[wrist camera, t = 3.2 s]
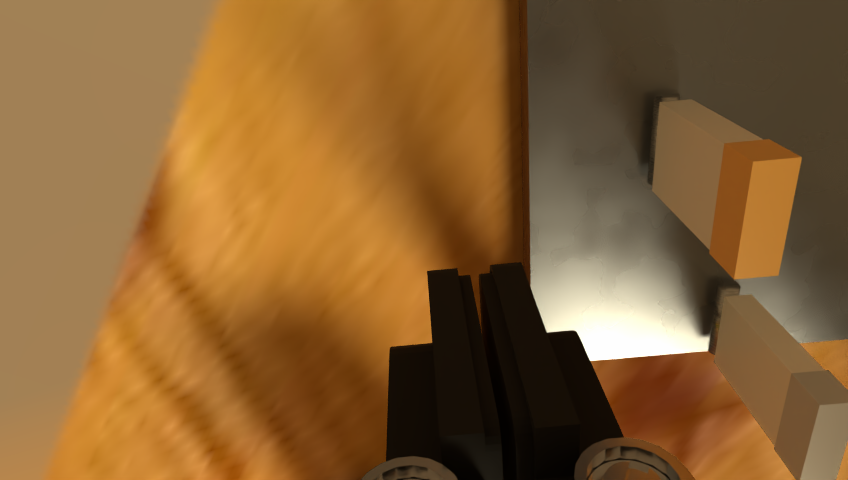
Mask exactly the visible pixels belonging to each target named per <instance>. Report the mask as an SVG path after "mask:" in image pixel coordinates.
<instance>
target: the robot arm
mask: <svg viewBox="0 0 848 480" xmlns="http://www.w3.org/2000/svg"><path fill="white" fill-rule="evenodd" d="M427 275H428V289H429V302H430V316H431V329H432V343H428V344H418V345H407V346H396V347H391V348H390V354H389V386H388V418H387V451H386V462H384V463H381V464H379V465H378V466H376V467H375V468H373V469H372V470H370V471H369V472H367V473H366V475H365V476H364V477H363V478H362V479H361V480H695V478H694V477H693V476H692V474H691V473H690V472H689V470H688V469H687V468H686V467H685V466H684V465H683V464H682V463H681V462H680V461H679V460H678V458H677V457H676V456H674V455H673V454H671V453H670V452H668V451H666V450H665V449H663V448H662V447H660V446H658V445H655V444H652V443H649V442H647V441H644V440H640V439H633V438H626V437H624V436H623V434H622V432H621V429H620V427H619V425H618V423H617V420H616V418H615V416H614V414H613V411H612V409H611V407H610V405H609V402H608V400H607V398H606V396H605V393H604V391H603V389H602V387H601V384H600V382H599V380H598V377H597V375H596V373H595V371H594V368H593V366H592V364H591V362H590V359H589V357H588V355H587V353H586V350H585V348H584V346H583V344H582V341H581V339H580V337H579V335H578V333H577V332H576V331H574V330H569V331H558V332H548V333H547V331H546V328H545V326H544V323H543V320H542V318H541V315H540V312H539V309H538V307H537V304H536V301H535V298H534V296H533V293H532V290H531V287H530V285H529V282H528V279H527V276H526V274H525V271H524V268H523V265H522V263H521V262H518V263H508V264H497V265H490V273H486V274H479V289H480V306H481V324H482V333H481V328H480V323H479V318H478V313H477V308H476V303H475V298H474V293H473V288H472V283H471V278H470V275H465V276H458V270H457V268H454V269H444V270H433V271H427Z"/></svg>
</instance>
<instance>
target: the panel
mask: <svg viewBox="0 0 848 480" xmlns="http://www.w3.org/2000/svg"><path fill="white" fill-rule="evenodd" d="M519 16H520V72H521V128H522V184H523V240H524V271H525V274H526V276H527V279H528V282H529V285H530V287H531V290H532V293H533V296H534V298H535V301H536V304H537V307H538V309H539V312H540V315H541V318H542V320H543V323H544V326H545V328H546V331H547V333H548V332H558V331H569V330H574V331H576V332H577V333H578V335H579V337H580V339H581V341H582V344H583V346H584V348H585V350H586V353H587V355H588V357H589V359H590V361H593V360H605V359H617V358H629V357H641V356H653V355H665V354H677V353H689V352H700V351H709V352H710V353H712V354H714V355H715V352H716V346H717V339H718V333H719V327H720V320H721V314H722V307H723V301H724V297H726V296H738V295H750V294H752V295H753V296H754V297H755V298H756V300H757V301H758V302H759V303H760V304H761V305H762V306H763V307H764V308H765V309H766V310H767V311H768V312H769V313H770V314H771V315H772V316H773V317H774V318H775V319H776V320H777V321H778V322H779V323H780V324H781V325H782V326H783V327H784V328H785V330H786V331H787V332H788V333H789V334H790V335H791V336H792V337H793V338H794V339H795V340H796V341H797V342H798V343H807V342H819V341H831V340H843V339H848V0H519ZM689 99H692V100H694V101H696V102H697V103H699V104H701V105H703V106H705V107H706V108H708V109H710V110H712V111H714V112H715V113H717V114H719V115H721V116H722V117H724V118H726V119H728V120H730V121H731V122H733V123H735V124H737V125H739V126H740V127H742V128H744V129H746V130H747V131H749V132H751V133H753V134H755V135H756V136H758V137H760V138H762V139H764V140H765V139H770V140H772V141H773V142H775V143H777V144H779V145H781V146H782V147H784V148H786V149H788V150H790V151H792V152H793V153H795V154H797V155H799V156H801V157H802V160H801V165H800V170H799V175H798V180H797V185H796V190H795V195H794V200H793V205H792V210H791V215H790V220H789V225H788V230H787V235H786V240H785V245H784V250H783V255H782V260H781V265H780V270H779V275H778V276H769V277H757V278H746V279H733V278H732V277H731V276H730V275H729V274H728V273H727V272H726V271H725V270H724V269H723V267H722V266H721V265H720V264H719V263H718V262H717V261H716V260H715V259H714V258H713V257H712V256H711V255H710V254H709V251H710V250H709V249H708V248H707V247H706V246H705V245H704V244H703V243H702V242H701V241H700V240H699V239H698V238H697V237H696V236H695V235H694V233H693V232H692V231H691V230H690V229H689V228H688V227H687V226H686V225H685V224H684V223H683V222H682V221H681V220H680V219H679V218H678V217H677V216H676V215H675V214H674V213H673V212H672V211H671V210H670V209H669V208H668V207H667V206H666V205H665V204H664V203H663V202H662V201H661V199H660V198H659V197H658V196H657V195H656V194H655V193H654V192H653V191H652V185H653V174H654V162H655V150H656V138H657V127H658V115H659V103H660V102H667V101H678V100H689Z"/></svg>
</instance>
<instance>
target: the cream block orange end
mask: <svg viewBox="0 0 848 480" xmlns="http://www.w3.org/2000/svg"><path fill="white" fill-rule="evenodd" d="M801 160H802V157H801V156H799V155H797V154H795V153H793V152H792V151H790V150H788V149H786V148H784V147H782V146H781V145H779V144H777V143H775V142H773V141H772V140H770V139H765V140H764V139H762V138H760V137H758V136H756V135H755V134H753V133H751V132H749V131H747V130H746V129H744V128H742V127H740V126H739V125H737V124H735V123H733V122H731V121H730V120H728V119H726V118H724V117H722V116H721V115H719V114H717V113H715V112H714V111H712V110H710V109H708V108H706V107H705V106H703V105H701V104H699V103H697V102H696V101H694V100H692V99H689V100H678V101H667V102H660V103H659V115H658V127H657V138H656V150H655V162H654V174H653V185H652V191H653V192H654V193H655V194H656V195H657V196H658V197H659V198H660V199H661V201H662V202H663V203H664V204H665V205H666V206H667V207H668V208H669V209H670V210H671V211H672V212H673V213H674V214H675V215H676V216H677V217H678V218H679V219H680V220H681V221H682V222H683V223H684V224H685V225H686V226H687V227H688V228H689V229H690V230H691V231H692V232H693V233H694V235H695V236H696V237H697V238H698V239H699V240H700V241H701V242H702V243H703V244H704V245H705V246H706V247H707V248H708V249H709V250H710V251H709V254H710V255H711V256H712V257H713V258H714V259H715V260H716V261H717V262H718V263H719V264H720V265H721V266H722V267H723V269H724V270H725V271H726V272H727V273H728V274H729V275H730V276H731V277H732V278H733V279H746V278H757V277H769V276H778V275H779V270H780V265H781V260H782V255H783V250H784V245H785V240H786V235H787V230H788V225H789V220H790V215H791V210H792V205H793V200H794V195H795V190H796V185H797V180H798V175H799V170H800V165H801Z"/></svg>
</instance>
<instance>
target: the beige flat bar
mask: <svg viewBox="0 0 848 480" xmlns="http://www.w3.org/2000/svg"><path fill="white" fill-rule="evenodd" d="M714 363H715V364H716V365H717V367H718V368H719V370H720V371H721V372H722V374H723V375H724V376H725V378H726V379H727V381H728V382H729V383H730V385H731V386H732V388H733V389H734V390H735V392H736V393H737V394H738V396H739V397H740V399H741V400H742V401H743V403H744V404H745V406H746V407H747V408H748V410H749V411H750V412H751V414H752V415H753V417H754V418H755V419H756V421H757V422H758V424H759V425H760V426H761V428H762V429H763V430H764V432H765V433H766V435H767V436H768V437H769V439H770V440H771V442H772V443H773V444H774V446H775V447H774V449H775V451H776V452H777V454H778V455H779V456H780V458H781V459H782V461H783V462H784V463H785V465H786V466H787V468H788V469H789V470H790V472H791V473H792V475H793V476H794V477H795V479H796V480H836V478H837V475H838V471H839V468H840V465H841V461H842V458H843V455H844V451H845V448H846V445H847V441H848V390H847V389H846V388H845V387H844V386H843V385H842V384H841V383H840V382H839V381H838V380H837V379H836V378H835V377H834V376H833V375H832V373H831V372H830V371H829V370H824V369H823V368H822V367H821V366H820V365H819V364H818V363H817V362H816V361H815V359H814V358H813V357H812V356H811V355H810V354H809V353H808V352H807V351H806V350H805V349H804V348H803V347H802V346H801V345H800V344H799V343H798V342H797V341H796V340H795V339H794V338H793V337H792V336H791V335H790V334H789V333H788V332H787V331H786V330H785V328H784V327H783V326H782V325H781V324H780V323H779V322H778V321H777V320H776V319H775V318H774V317H773V316H772V315H771V314H770V313H769V312H768V311H767V310H766V309H765V308H764V307H763V306H762V305H761V304H760V303H759V302H758V301H757V300H756V298H755V297H754V296H753V295H752V294H750V295H738V296H726V297H724V301H723V307H722V314H721V320H720V327H719V333H718V339H717V346H716V352H715V359H714Z"/></svg>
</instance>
